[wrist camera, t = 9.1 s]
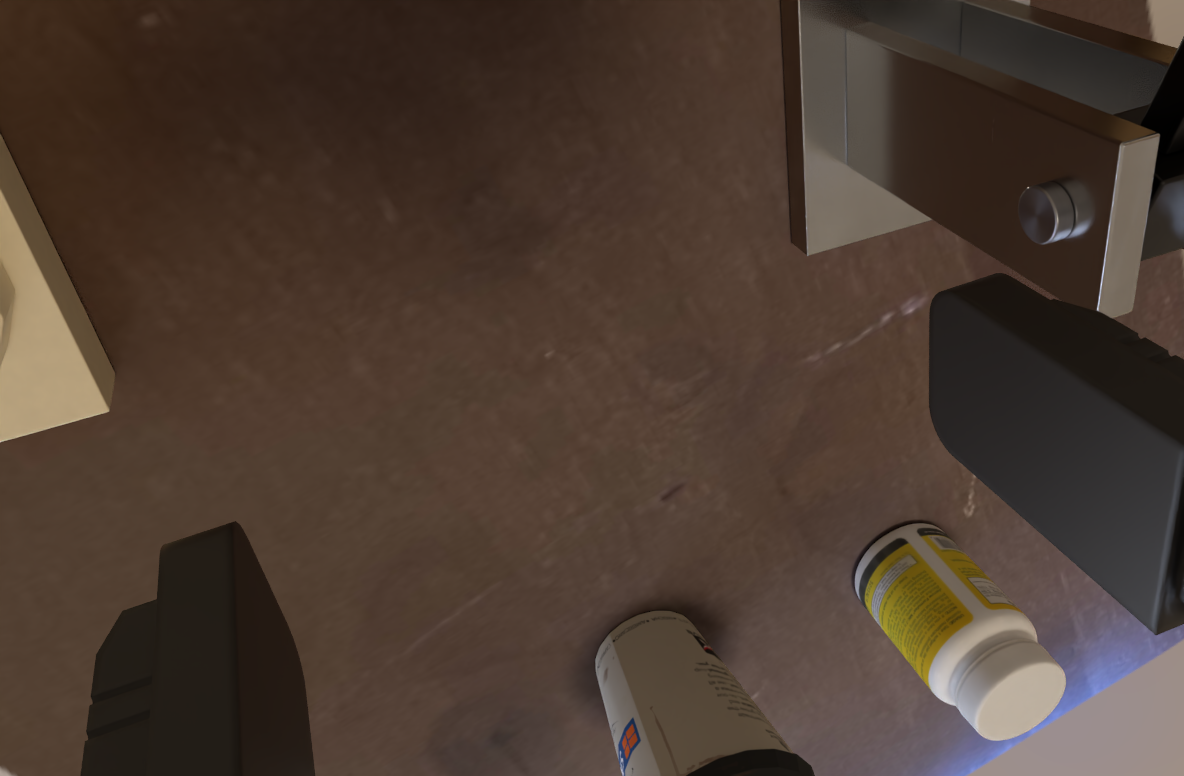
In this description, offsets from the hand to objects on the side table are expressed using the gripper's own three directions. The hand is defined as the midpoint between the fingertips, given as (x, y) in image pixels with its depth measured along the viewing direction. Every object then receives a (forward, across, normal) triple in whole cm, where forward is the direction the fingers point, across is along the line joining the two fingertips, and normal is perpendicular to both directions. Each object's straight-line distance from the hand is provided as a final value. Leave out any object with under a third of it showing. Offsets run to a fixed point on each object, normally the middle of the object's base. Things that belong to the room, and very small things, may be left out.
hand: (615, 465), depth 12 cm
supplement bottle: (+21, -16, +26) cm, 38 cm away
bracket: (+21, -16, +4) cm, 27 cm away
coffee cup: (+21, -4, +26) cm, 34 cm away
